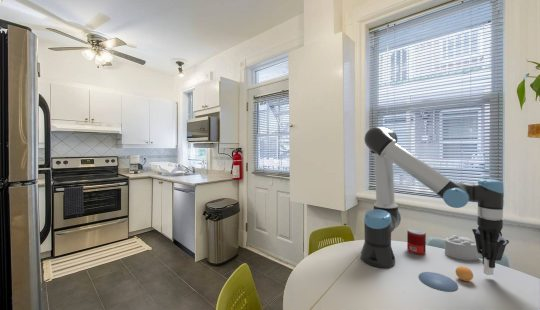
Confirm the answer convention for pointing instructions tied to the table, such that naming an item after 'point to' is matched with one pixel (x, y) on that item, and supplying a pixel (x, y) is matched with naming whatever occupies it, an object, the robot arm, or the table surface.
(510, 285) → the table surface
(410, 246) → the canned food
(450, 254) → the lumpy-topped squat cylinder
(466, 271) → the ball
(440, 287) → the disc
